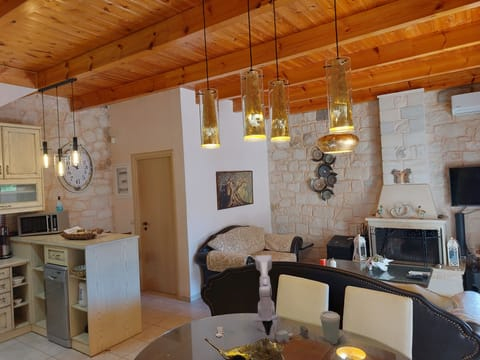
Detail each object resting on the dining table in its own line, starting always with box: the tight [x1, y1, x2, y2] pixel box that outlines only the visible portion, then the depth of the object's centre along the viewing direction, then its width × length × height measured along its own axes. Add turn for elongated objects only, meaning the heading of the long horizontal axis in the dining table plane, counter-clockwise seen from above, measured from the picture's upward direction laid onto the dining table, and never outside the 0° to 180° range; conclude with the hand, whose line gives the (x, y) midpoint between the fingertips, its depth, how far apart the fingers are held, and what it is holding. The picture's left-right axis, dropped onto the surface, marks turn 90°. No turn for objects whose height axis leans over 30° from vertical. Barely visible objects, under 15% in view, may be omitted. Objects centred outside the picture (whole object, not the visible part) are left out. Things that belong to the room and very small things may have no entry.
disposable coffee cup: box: [319, 310, 341, 345], centre depth 181 cm, size 11×11×15 cm
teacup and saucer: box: [215, 326, 224, 338], centre depth 198 cm, size 9×8×4 cm
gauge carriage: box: [274, 330, 294, 344], centre depth 182 cm, size 9×7×4 cm
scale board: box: [274, 325, 309, 344], centre depth 184 cm, size 18×12×6 cm, turn 104°
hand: (267, 334), depth 181 cm, fingers closed
